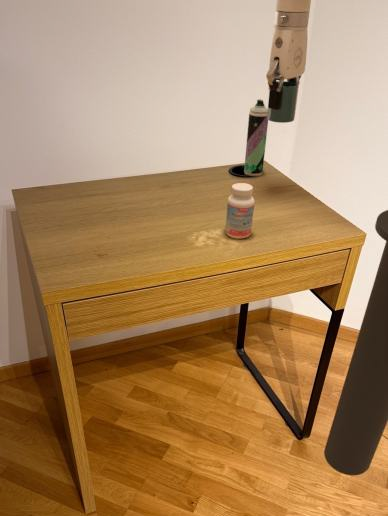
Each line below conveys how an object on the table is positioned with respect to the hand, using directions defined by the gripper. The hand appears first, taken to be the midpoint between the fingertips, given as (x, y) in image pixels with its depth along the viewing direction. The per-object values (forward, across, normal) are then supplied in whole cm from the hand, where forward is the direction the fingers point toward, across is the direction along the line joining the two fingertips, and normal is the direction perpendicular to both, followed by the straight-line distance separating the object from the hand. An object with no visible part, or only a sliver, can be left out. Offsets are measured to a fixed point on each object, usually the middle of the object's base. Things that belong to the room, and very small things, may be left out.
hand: (282, 105), depth 123 cm
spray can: (+22, +9, +12) cm, 26 cm away
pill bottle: (+22, -28, -7) cm, 36 cm away
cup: (+3, 0, 0) cm, 3 cm away
